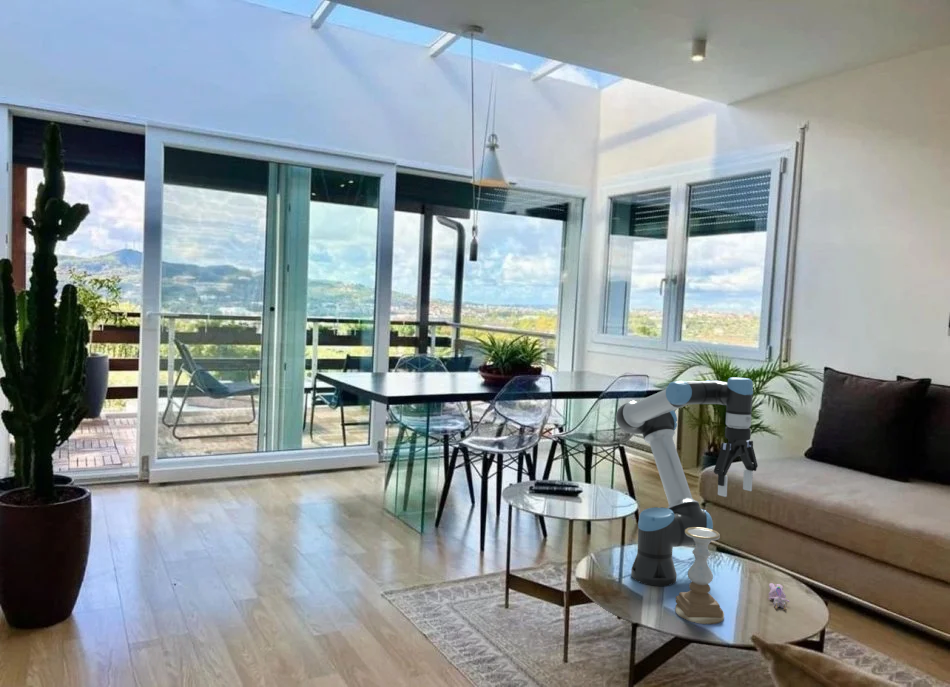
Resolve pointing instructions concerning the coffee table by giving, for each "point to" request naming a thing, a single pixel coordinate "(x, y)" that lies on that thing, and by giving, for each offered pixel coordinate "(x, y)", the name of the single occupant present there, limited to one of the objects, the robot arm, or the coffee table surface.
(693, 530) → the candle holder
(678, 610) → the hub disc
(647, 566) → the robot arm
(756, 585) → the coffee table surface
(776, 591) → the purple toy figure
